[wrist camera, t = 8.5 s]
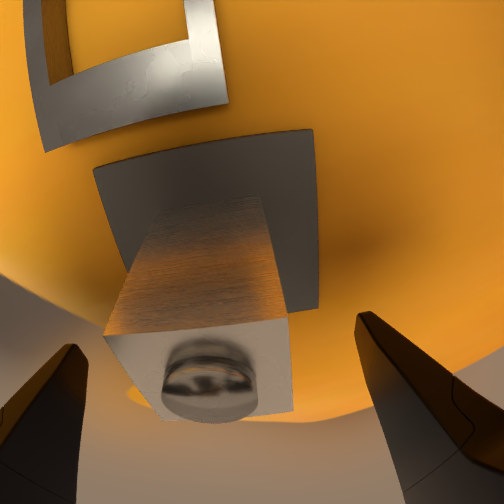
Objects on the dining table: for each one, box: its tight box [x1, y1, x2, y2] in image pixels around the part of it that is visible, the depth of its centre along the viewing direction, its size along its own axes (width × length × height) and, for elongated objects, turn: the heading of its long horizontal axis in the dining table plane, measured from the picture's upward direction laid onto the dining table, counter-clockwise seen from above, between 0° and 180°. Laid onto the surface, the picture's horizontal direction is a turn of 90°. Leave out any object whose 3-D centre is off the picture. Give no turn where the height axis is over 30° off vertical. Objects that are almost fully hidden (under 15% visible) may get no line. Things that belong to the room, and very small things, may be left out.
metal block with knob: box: [103, 194, 294, 423], centre depth 10 cm, size 4×4×8 cm
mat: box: [93, 129, 319, 313], centre depth 13 cm, size 9×9×1 cm
